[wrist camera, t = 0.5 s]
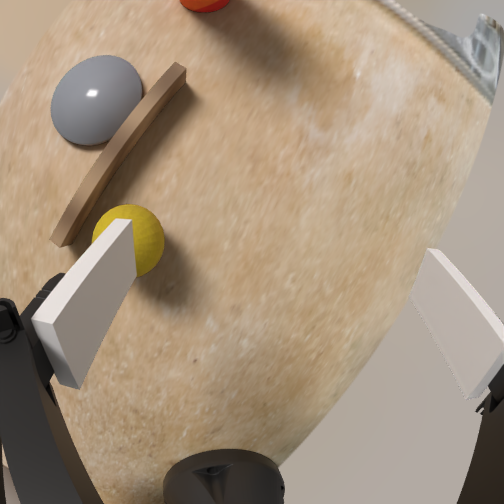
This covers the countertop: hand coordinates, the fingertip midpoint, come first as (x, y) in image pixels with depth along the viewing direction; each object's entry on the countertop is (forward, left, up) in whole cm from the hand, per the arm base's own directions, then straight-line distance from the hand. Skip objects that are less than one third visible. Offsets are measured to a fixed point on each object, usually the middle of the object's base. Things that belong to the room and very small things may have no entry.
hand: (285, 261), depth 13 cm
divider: (0, +12, -15) cm, 20 cm away
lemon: (-5, +7, -16) cm, 18 cm away
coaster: (+3, +18, -15) cm, 24 cm away
